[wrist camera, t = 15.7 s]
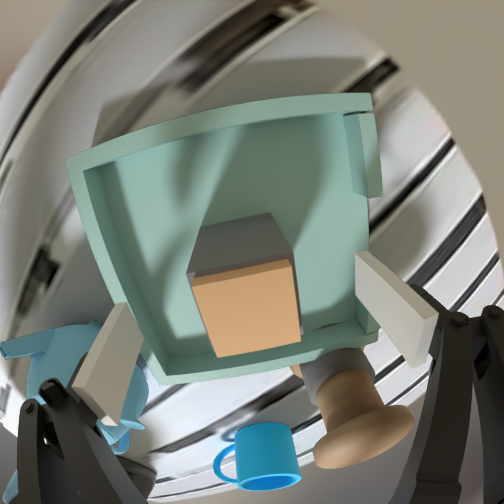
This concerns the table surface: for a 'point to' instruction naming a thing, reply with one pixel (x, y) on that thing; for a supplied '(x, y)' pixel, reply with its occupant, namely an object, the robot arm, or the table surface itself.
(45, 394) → the robot arm
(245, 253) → the gray and orange block
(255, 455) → the mug
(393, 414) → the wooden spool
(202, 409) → the table surface
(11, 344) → the teapot
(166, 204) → the pale green tray
